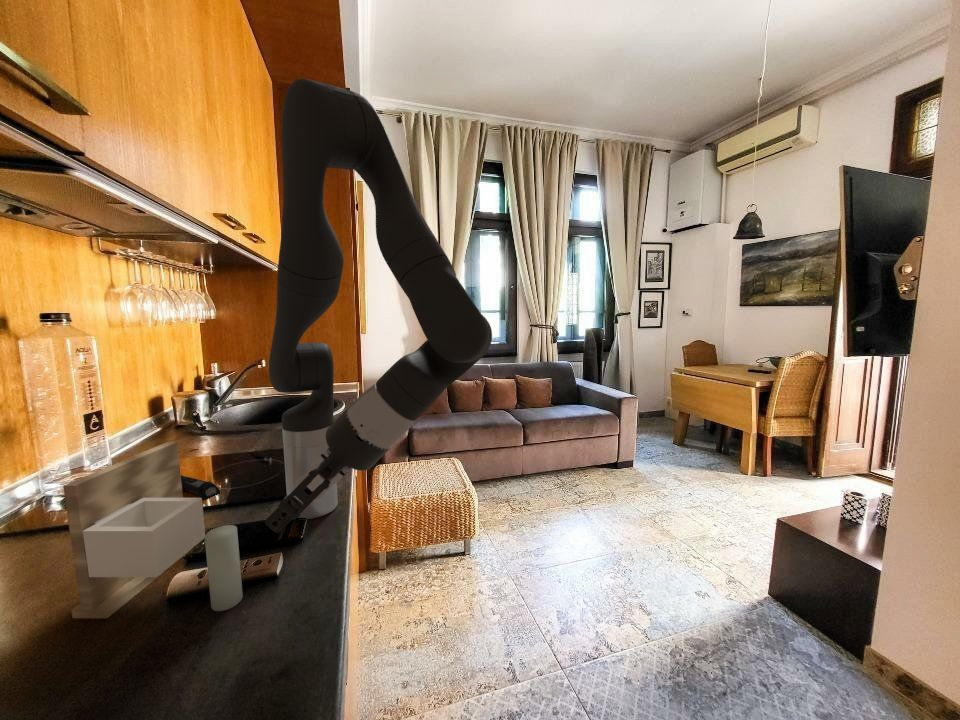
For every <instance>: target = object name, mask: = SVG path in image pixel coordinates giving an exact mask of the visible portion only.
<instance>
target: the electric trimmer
mask: <svg viewBox="0 0 960 720" xmlns="http://www.w3.org/2000/svg"><path fill="white" fill-rule="evenodd" d="M181 483H182V492H189V493H192V494H195V495H198V496H199V498H202V499H203V500H209V499H211V498H214V497H216V496H218V494H219V495H220V494H221V490H220V488H219V487H218V486H217V485H216V484H214V482H211V481H205V480H202V479H197V478H193V477H189V476H186V475H182V474H181ZM215 495H216V496H215ZM213 496H214V497H213ZM208 498H209V499H208Z"/></svg>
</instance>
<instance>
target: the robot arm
mask: <svg viewBox="0 0 960 720" xmlns="http://www.w3.org/2000/svg"><path fill="white" fill-rule="evenodd" d="M281 113H282V114H281V154H282V156H281V157H282V158H281V159H282V160H281V161H282V196H283V197H282V218H281V219H282V220H281V233H280V235H281V236H280V243H279V244H280V245H279V251H278V252H279V253H278V263H277V264H278V265H277V284H276V311H275V321H274V329H273V334H272V339H271V345H270V351H269V352H270V353H269V359H268V377H269V382H270V384H271V387H272V388H273V390H275V391H276V392H278V393H280V394H281V393H283V394H291V393H292V394H293V393H300V392H308V391H309V392H310V391H311V393H310V395H309V396H308V397H307V398H306V399H305V400H303V401H302V402H300V403H299V404H296V405H295V406H292V407H290V408H288V409H286V410H285V411H284V412H283V413H282V416H281V428H282V429H281V430H282V442H283V456H284V457H283V458H284V460H283V461H284V472H285V487H286V488H285V489H286V496H285V497H284V498H283V499H281V501H280V502H279V504H278V505H277V506H278V507H277V508H276V509H275V510H274V511H273V512H272V513H271V514H270V515H269V516H268V517H266V519H265V520H264V523H265V526H267V527H268V528H269V529H270V530H271V531H273V532H274V533H275V534H279V533H280V532H281V531H282V530H284V528H286V526H288V524H289V523H290V522H291V521H292V520H293V521H295V520H296V518H306V519H305V520H311V519H315V518H319V517H322V516H325V515H328V514H329V513H331V512H333V511H334V510H335V509H336V508H337V506H338V503H339V501H338V483H339V482H340V480H342V479H343V478H344V477H345V476H346V473H347V472H349V470H350V469H353V470H355V471H360V472H361V471H363V472H365V471H368V470H369V469H371V468H372V467H373V466H374V465H375V464H376V463H377V462H378V461H379V460H380V459H381V458H382V457H384V455H385V454H387V452H388V451H389V450H390V449H391V448H392V447H393V446H395V444H396V443H397V442H398V441H400V440H401V439H402V437H403V436H404V435H406V433H407V432H408V430H410V428H411V426H413V424H414V423H415V422H416V420H417V419H419V418H420V417H421V416H422V415H423V413H424V412H426V411H427V410H428V409H429V408H430V407H431V405H433V404H434V402H436V400H437V399H438V398H439V397H440V396H441V395H442V394H443V392H444V391H445V390H446V389H447V388H448V387H450V386H451V385H452V384H453V383H454V382H456V381H457V380H458V379H460V377H461V376H463V375H464V374H465V373H467V371H468V370H469V369H471V368H472V367H473V366H474V365H475V364H476V363H478V362H479V361H480V360H481V359H482V358H483V357H484V356H485V354H486V353H488V350H489V349H490V346H491V344H492V339H493V332H492V331H493V330H492V327H491V325H490V322H489V321H488V320H487V318H486V317H485V316H484V315H483V314H482V313H481V312H480V310H479V309H478V307H477V306H476V304H475V303H474V302H473V300H472V298H471V297H470V295H469V294H468V292H467V291H466V289H465V288H464V286H463V285H462V283H461V282H460V280H459V279H458V278H457V274H456V271H455V268H454V266H453V264H452V263H451V261H450V259H449V257H448V255H447V254H446V252H445V250H444V249H443V247H442V246H441V244H440V243H439V241H438V239H437V237H436V236H435V233H433V231H432V230H431V227H430V226H429V224H428V223H427V221H426V220H425V218H424V215H423V214H422V212H421V209H420V208H419V206H418V204H417V202H416V200H415V197H414V196H413V193H412V191H411V188H410V186H409V184H408V182H407V179H406V177H405V174H404V171H403V169H402V167H401V164H400V162H399V160H398V158H397V155H396V153H395V151H394V149H393V146H392V143H391V141H390V139H389V138H390V137H389V135H388V134H387V133H388V132H387V131H386V128H385V126H384V124H383V122H382V120H381V117H380V115H379V114H378V112H377V111H376V109H375V107H374V106H373V105H372V103H371V102H370V101H369V100H368V99H367V98H366V97H365V96H363V95H361V94H360V93H357V92H355V91H353V90H349V89H346V88H342V87H338V86H334V85H331V84H328V83H325V82H321V81H317V80H312V79H308V78H298V79H295V80H294V81H293V82H291V83H290V84H289V86H288V88H287V90H286V93H285V96H284V99H283V105H282V112H281ZM329 168H330V169H338V170H339V169H340V170H346V171H351V170H353V171H355V172H356V173H357V174H358V175H359V177H360V178H361V179H362V180H363V181H364V183H365V184H366V186H367V187H368V189H369V190H370V193H371V195H372V198H373V201H374V207H375V208H374V209H375V235H376V240H377V244H378V248H379V251H380V253H381V255H382V258H383V259H384V261H385V263H386V264H387V266H388V267H389V270H390V271H391V273H392V275H393V277H394V278H395V279H396V281H397V284H398V285H399V286H400V288H401V290H402V291H403V293H404V294H405V296H406V297H407V298H408V300H409V302H410V305H411V307H412V309H413V312H414V315H415V316H416V319H417V322H418V324H419V326H420V328H421V330H422V332H423V334H424V336H425V338H426V340H425V341H424V342H423V343H422V344H421V345H420V346H419V347H418V348H417V349H416V350H414V351H412V352H410V353H407V354H406V355H405V354H404V355H403V356H402V357H400V358H399V359H398V360H397V361H395V362H394V364H392V365H391V366H390V367H389V368H388V370H386V371H385V372H384V374H382V375H381V376H380V378H378V380H377V381H375V383H373V384H372V385H371V386H370V387H368V388H367V389H365V390H364V392H362V393H361V394H360V395H359V396H358V397H357V398H356V399H355V400H354V401H353V402H352V404H350V405H349V406H348V407H347V408H346V409H345V410H344V411H343V413H342V414H340V415H339V416H338V418H336V420H334V411H335V410H334V407H335V406H334V405H335V401H334V399H335V398H334V380H335V379H334V377H335V375H334V372H335V371H334V370H335V369H334V368H335V367H334V358H333V357H334V356H333V353H332V350H331V347H330V346H329V345H328V344H327V343H325V342H302V343H301V342H300V340H301V338H302V337H303V335H304V334H305V333H306V331H307V330H308V329H309V328H310V327H311V326H312V325H314V323H315V322H317V321H318V320H319V319H320V318H321V317H322V316H323V315H324V314H325V313H326V312H327V310H329V308H331V306H332V305H333V304H334V302H335V301H336V299H337V297H338V294H339V292H340V286H341V281H342V276H343V269H344V263H345V262H344V260H345V259H344V258H345V257H344V253H343V250H342V246H341V245H340V241H339V240H338V237H337V235H336V233H335V231H334V229H333V227H332V225H331V222H330V221H329V219H328V216H327V213H326V210H325V207H324V206H325V205H324V204H325V203H324V189H325V187H324V185H325V177H326V173H327V170H328V169H329Z"/></svg>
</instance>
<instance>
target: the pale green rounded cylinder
mask: <svg viewBox="0 0 960 720" xmlns="http://www.w3.org/2000/svg"><path fill="white" fill-rule="evenodd" d="M204 544H205V546H204V547H205V554H206V555H205V556H206V564H207V566H206V567H207V576H208V577H207V578H208V585H209V586H208V587H209V596H210V607H211V610H213V611H214V612H222V611H223V612H224V611H227V610H229V609H231V608H234V607H235V606H237V605H238V604H239V603H240V602H241V601H242V599H243V597H244V595H243V584H242V583H243V582H242V571H241V560H240V549H239V548H240V547H239V537H238V527H237V525H233V524H230V525H229V524H228V525H221V526H218V527H215V528H213V529H211V530H209V531H208V532H207V533H205V538H204Z"/></svg>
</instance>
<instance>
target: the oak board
mask: <svg viewBox="0 0 960 720" xmlns="http://www.w3.org/2000/svg"><path fill="white" fill-rule="evenodd" d="M179 455H180V454H179V446H178V441H166V442H165V443H162V444H159V445H157V446H154V447H151V448H150V449H148V450H145V451H142V452H140V453H137V454H136V455H132V456H131V457H128V458H126V459H124V460H121V461H119V462H117V463H114V464H112V465H109V466H107V467H105V468H102V469H100V470H98V471H95V472H92V473H90V474H87V475H86V476H83V477H80V478H79V479H75V480H74V481H71V482H69V483H66V484H64V485H62V487H63V495H64V500H65V507H66V515H67V520H68V528H69V529H68V530H69V536H70V542H71V543H70V544H71V549H72V556H73V563H74V570H75V577H76V585H77V591H78V598H79V604H76V606H74V607H73V608H72V609H71V615H72V619H108V618H110V617H111V616H112V615H113V614H115V613H116V612H117V611H119V610H120V609H121V608H122V607H123V606H124V605H126V604H127V603H129V601H130V600H132V599H133V598H134V597H135V596H136V595H138V594H139V593H140V592H141V591H142V590H144V589H145V588H146V587H148V586H149V585H150V584H151V583H152V582H154V581H155V580H156V579H157V578H158V577H89V573H88V565H87V558H86V551H85V544H84V537H83V531H84V530H86V529H87V528H89V527H91V526H93V525H94V523H95V522H97V521H98V520H100V519H102V518H104V517H106V516H108V515H109V514H111V513H113V512H115V511H117V510H119V509H120V508H122V507H124V506H126V505H128V504H133V503H134V502H136V501H138V500H140V499H142V498H184V495H183V491H182V483H181V475H182V474H181V465H180V456H179ZM190 551H191V550H189V551H188V552H187V553H189V552H190ZM184 556H185V555H183V556H182V557H184ZM178 561H179V560H177V561H176V562H178ZM173 565H174V564H172V565H171V566H170V567H172V566H173ZM167 570H168V569H166V570H165V571H167ZM161 575H162V574H160V575H159V576H161Z"/></svg>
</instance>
